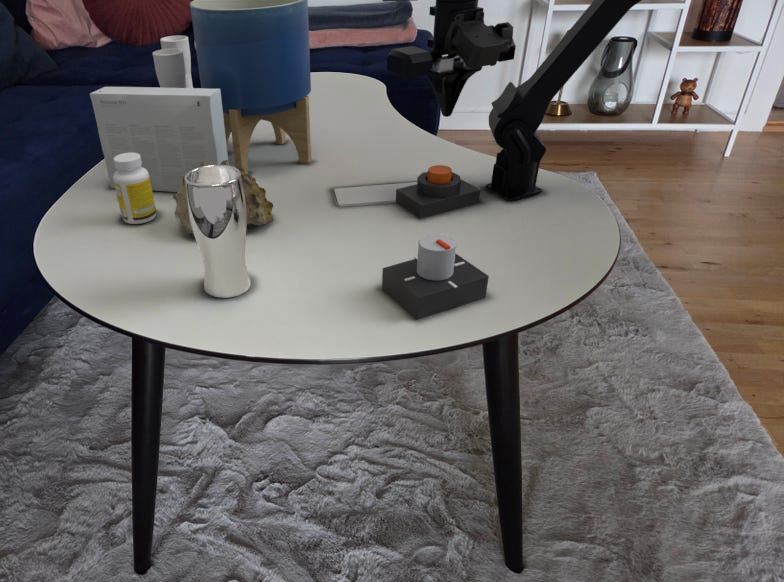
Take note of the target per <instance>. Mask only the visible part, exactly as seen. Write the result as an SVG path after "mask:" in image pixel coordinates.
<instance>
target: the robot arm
mask: <svg viewBox="0 0 784 582" xmlns="http://www.w3.org/2000/svg"><path fill="white" fill-rule="evenodd" d="M413 1H417V0H382V2H383V3H385V2H386V3H387V2H413ZM642 1H643V0H593V1H592V2H591V3H590V4H589V5H588V7H587V8H586V9H585V10H584V12H583V13H582V14H581V15H580V17H579V18H578V19H577V20H576V21H575V23H574V24H573V25H572V26H571V28H569V30H568V32H567V33H566V34H565V35H564V36H563V37H562V39H561V40H560V41H559V42H558V43H557V45H556V46H555V47H554V48H553V49H552V51H551V52H550V53H549V54H548V56H547V57H546V58H545V59H544V60H543V62H542V63H541V64H540V65H539V66H538V68H537V69H536V70H535V72H534V73H533V74H532V75H531V76H530V77H529V78H527V80H525V81H524V82H523V83H521V84H520V85H518V86H516V85H515V84H514V83H513V82H512V81H509V82H508V83H507V85H506V86H505V88H504V90H503V91H502V93H501V94H500V96H499V97H498V98H497V99H495V100H494V101H492V102H491V106H492V108H491V110H490V112H489V115H488V126H489V130H490V131H491V134H492V136H493V139H494V141H495V143H496V144H497V145H498V146H499V147H500V148H501V150H500V152H497V153H496V157H495V158H496V159H495V163H494V164H493V166H492V167H493V168H492V174H491V182H489V183H486V184H485V189H487V190H489V191H491V192H492V193H494V194H496V195H498V196H499V197H502V198H503V199H506V200H507V201H511V202H512V201H516V200H517V201H518V200H520V199H523V198H527V197H531V196H534V195H535V196H536V195H539V194H542V193H543V189H542V188H541V187H539V186H536V185H537V181H538V175H539V169H540V164H541V161H542V159H543V157H544V155H545V153H546V152H547V148H546V146H545V144H544V142H543V141H542V139H541V137H540V136H539V134H538V132H537V130H539V127H540V126H541V124H542V123H543V121H544V119H545V115H546V114H547V111H548V109H549V107H550V105H551V103H552V100H553V99H554V97H555V96H556V95H558V93H559V92H560V90H562V88H563V87H564V86H565V85H566V84H567V83H568V81H569V80H570V79H571V78H572V77H573V76H574V75H575V74H576V72H578V70H579V69H580V67H581V66H582V65H583V64H584V63H585V61H586V60H587V59H588V58H589V57H590V56H591V55H592V53H593V52H594V51H595V50H596V49H597V48H598V46H600V45H601V43H602V42H603V41H604V40H605V38H606V37H608V35H609V34H610V33H611V32H612V30H614V28H615V27H616V26H617V25H618V23H619V22H620V21H621V20H622V19H623V18H624V16H626V14H627V13H628V12H629V10H631V9H633V7H635V6H636V5H638V4H639V3H641V2H642ZM429 16H432V17H434V22H433V36H432V38H427V41H426V42H427V45H426V47H427V48H430V49H431V50H427V49H424V48H420V47H417V46H413V45H410V46H403V47H397V48H392V49H391V50H390V52H389V53H388V55H387V58H386V71H388V72H391V73H393V74H395V75H399V76H401V77H404V78H409V79H410V78H411V79H412V78H418V77H423V76H427V78H428V81H429V82H430V85H431V87H432V90H433V92H434V95H435V98H436V100H437V104H438V107H439V109H440V112H441V115H442V116H443V117H445V118H447V117H451V116H452V114H453V112H454V109H455V108H456V105H457V103H458V101H459V98H460V96H461V93H462V91H463V89H464V87H465V85H466V83H467V82H468V80H469V79H470V78H471V77H472V76H473V75H475V74H476V73H477V72H480V71H482V69H483V67H486V66H487V67H488V66H490V67H495V66H496V65H497V63H501V62H502V63H503V62H506V61H507V62H508V61H512V60H514V59H515V55H516V50H517V49H516V48H517V46H516V43H515V39H514V38H513V37H514V26H513V25H512V24H511V23H510V22H508V21H506V22H505V21H504V22H499V23H496V24H495V25H493V24H491V25H486V24H485V11H484V7H479V0H435V5H433V6H429Z"/></svg>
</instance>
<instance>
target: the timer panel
mask: <svg viewBox="0 0 784 582" xmlns="http://www.w3.org/2000/svg"><path fill="white" fill-rule="evenodd" d="M417 258H418V255H415V256H414V255H413V259H409V260H406V261H403V262H399V263H396V264H393V265H389V266H386V267H382V275H381V289H382V291H384V292H385V293H386V294H387V295H388V296H390V297H391V298H392V299H393V300H394V301H395V302H396V303H397V304H399V305H400V306H401V307H402V308H403V309H405V311H406V312H408V313H409V314H410V315H411V316H412V317H414V318H415V319H416V320H420V319H422V318H425V317H429V316H432V315H436V314H438V313H441V312H445V311H447V310H450V309H454V308H456V307H459V306H463V305H465V304H469V303H472V302H474V301H477V300H481V299H484V298H486V296H487V290H488V283H489V278H490V276H489V275H488V274H487V273H485V272H484V271H482V270H481V269H479V268H478V267H476V266H475V265H473V264H472V263H470V262H469V261H468V260H466V259H465V258H463V257H462V256H460V255H458V254H457V253H455V262H454V271H453V275H452V276H451V277H450V278H448V279H445V280H439V281H434V280H428V279H425V278H422V277H421V276H419V275H418V273H417Z"/></svg>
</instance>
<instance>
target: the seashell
mask: <svg viewBox="0 0 784 582" xmlns="http://www.w3.org/2000/svg"><path fill="white" fill-rule="evenodd" d="M228 163H229V164H230V162H229V159H228V160H225V161H222V162H221V163H220V164H219V165H228ZM202 166H206V165H205V162H204V161H202V162H201V164H200V166H199V167H202ZM239 170H240V172H241V179H242V184H243V189H244V194H245V201H246V211H247V225H250V224H253V225H256V226H263V225H266V224H268V223H270V221H273V215H272V211H273V208H274V204H273V203H272V202H271V201H269V200H268V199H267V197H266V193H267V190H266V189H265V187H261V186H259V183H257V179H256V178H255V177H253V175H252V173H247V174H246V173H245V170H244V169H239ZM172 198H173V200H174V201H175V202H176V205H175V211H174V215H175V217H176V218H178V219H179V222H180V225H182V226H183V228H184V229H185V230H186V232H187V233H188V234H192V235H194V233H193V230H192V227H191V223H190V219H189V214H188V207H187V199H186V186H185V176H183V184H182V188H181V189H180V190H179V191H178V192H175V193H174V194H173V195H172Z"/></svg>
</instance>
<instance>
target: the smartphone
mask: <svg viewBox="0 0 784 582" xmlns="http://www.w3.org/2000/svg"><path fill="white" fill-rule="evenodd" d="M416 184H417V181H405V182H392V183H381V184H380V183H379V184H369V185H366V184H365V185H356V186H355V185H354V186H343V187H334V188H333V189H332V195H333V198H334V201H335V206H336V207H338V208H349V207H350V208H351V207H362V206H374V205H375V206H376V205H377V206H378V205H388V204H397V203H396V189H400V188H404V187H408V186H412V185H416Z"/></svg>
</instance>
